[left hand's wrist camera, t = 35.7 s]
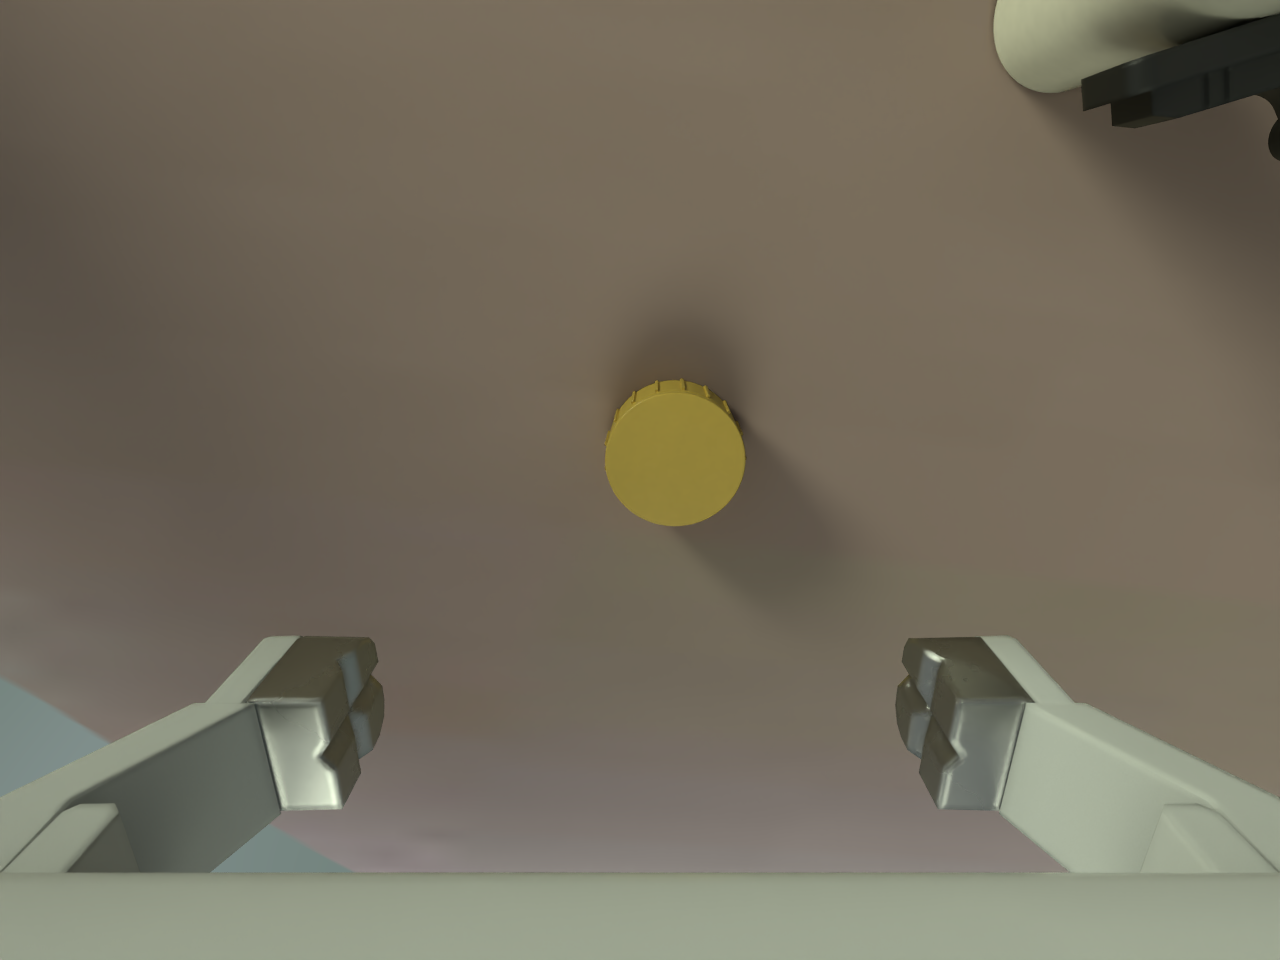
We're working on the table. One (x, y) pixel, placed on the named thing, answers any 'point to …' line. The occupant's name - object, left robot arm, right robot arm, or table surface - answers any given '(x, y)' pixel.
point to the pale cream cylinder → (1104, 33)
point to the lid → (674, 453)
